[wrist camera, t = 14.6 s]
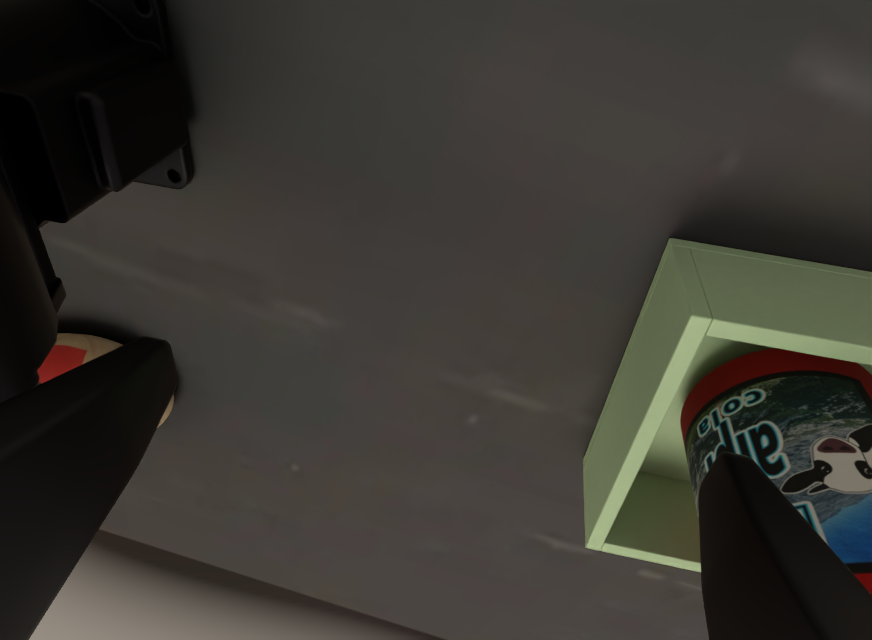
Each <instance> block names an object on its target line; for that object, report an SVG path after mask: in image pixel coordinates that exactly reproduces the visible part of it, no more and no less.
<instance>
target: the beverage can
mask: <svg viewBox="0 0 872 640" xmlns="http://www.w3.org/2000/svg"><path fill="white" fill-rule="evenodd" d="M680 425H681V431H682V437H683V442H684V447H685V453H686V458H687V463H688V469H689V474H690V479H691V484H692V489H693V494H694V499H695V504H696V509H697V514H698V519H699V509H698V493H699V488H700V485H701V482H702V481H703V479H704V477H705V476H706V474H707V472H708V471H709V469H710V467H711V466H712V464H713V462H714V461H715V459H716V457H717V456H718V455H719V454H720V453H722V452H730V453H735V454H740V455H745V456H748V457H750V458H752V459H753V460H754V461H755V462H756V463H757V465H758V466H759V467H760V468H761V469H762V470H763V471H764V473H765V474H766V475H767V476H768V477H769V478H770V479H771V481H772V482H773V483H774V484H775V485H776V486H777V487H778V489H779V490H780V491H781V492H782V493H783V494H784V495H785V496H786V498H787V499H788V500H789V501H790V502H791V503H792V504H793V506H794V507H795V508H796V509H797V510H798V511H799V512H800V514H801V515H802V516H803V517H804V518H805V519H806V520H807V522H808V523H809V524H810V525H811V526H812V527H813V528H814V530H815V531H816V532H817V533H818V534H819V535H820V536H821V538H822V539H823V540H824V541H825V542H826V543H827V544H828V546H829V547H830V548H831V549H832V550H833V551H834V552H835V554H836V555H837V556H838V557H839V558H840V559H841V560H842V562H843V563H844V564H845V565H846V566H847V567H848V568H849V570H850V571H851V572H852V573H853V574H854V575H855V576H856V578H857V579H858V580H859V581H860V582H861V583H862V584H863V586H864V587H865V588H866V589H867V590H868V591H869V592H870V594H871V595H872V375H871V374H870V373H869V372H868V371H867V370H866V369H865V368H864V367H862V366H861V365H860V364H858V363H856V362H850V361H845V360H839V359H834V358H828V357H823V356H817V355H812V354H806V353H801V352H795V351H790V350H784V349H779V348H771V349H765V350H760V351H756V352H752V353H749V354H746V355H743V356H740V357H737V358H735V359H733V360H730V361H728V362H726V363H724V364H722V365H721V366H719V367H717V368H716V369H714V370H713V371H711V372H710V373H708V374H707V375H706V376H705V377H703V378H702V379H701V380H700V381H699V382H698V383H697V384H696V385H695V386H694V388H693V389H692V390H691V392H690V393H689V395H688V396H687V398H686V400H685V402H684V404H683V408H682V411H681V418H680Z"/></svg>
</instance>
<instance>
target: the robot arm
mask: <svg viewBox="0 0 872 640" xmlns="http://www.w3.org/2000/svg"><path fill="white" fill-rule="evenodd" d="M147 1H148V2H149V5H150V12H149V11H147V10H146V9H145V8H144V7H143V4H142V0H0V640H29V638H30V637H31V635H32V633H33V632H34V630H35V629H36V627H37V626H38V624H39V622H40V621H41V619H42V618H43V616H44V615H45V613H46V611H47V610H48V608H49V607H50V605H51V604H52V602H53V600H54V599H55V597H56V596H57V594H58V592H59V591H60V589H61V588H62V586H63V585H64V583H65V581H66V580H67V578H68V577H69V575H70V573H71V572H72V570H73V569H74V567H75V565H76V564H77V562H78V561H79V559H80V558H81V556H82V554H83V553H84V551H85V550H86V548H87V547H88V545H89V543H90V542H91V540H92V539H93V537H94V536H95V534H96V532H97V531H98V529H99V528H100V526H101V524H102V523H103V521H104V520H105V518H106V517H107V515H108V513H109V512H110V510H111V509H112V507H113V506H114V504H115V502H116V501H117V499H118V498H119V496H120V494H121V493H122V491H123V490H124V488H125V487H126V485H127V483H128V482H129V480H130V479H131V477H132V475H133V474H134V472H135V470H136V469H137V467H138V465H139V463H140V461H141V459H142V457H143V455H144V453H145V451H146V449H147V447H148V445H149V443H150V441H151V439H152V437H153V435H154V433H155V431H156V429H157V427H158V425H159V423H160V421H161V419H162V417H163V415H164V413H165V411H166V408H167V406H168V404H169V402H170V400H171V398H172V396H173V394H174V392H175V390H176V387H177V382H178V375H177V371H176V366H175V362H174V358H173V353H172V349H171V346H170V344H169V343H168V342H167V341H165V340H162V339H157V338H152V337H140V338H138V339H136V340H133V341H131V342H129V343H127V344H125V345H123V346H121V347H118V348H116V349H114V350H112V351H110V352H108V353H106V354H104V355H101V356H99V357H97V358H95V359H93V360H91V361H89V362H86V363H84V364H82V365H80V366H78V367H76V368H74V369H72V370H69V371H67V372H65V373H63V374H61V375H59V376H57V377H54V378H52V379H50V380H48V381H46V382H44V383H42V384H40V385H37V383H38V382H39V374H38V372H37V370H38V369H39V368H40V367H41V365H42V364H43V362H44V360H45V359H46V357H47V356H48V354H49V352H50V351H51V349H52V348H53V346H54V344H55V343H56V341H57V330H58V317H57V312H58V310H59V308H60V306H61V304H62V302H63V300H64V298H65V297H66V292H65V290H64V287H63V284H62V281H61V279H60V278H58V277H56V276H55V273H54V270H53V267H52V265H51V262H50V259H49V256H48V253H47V251H46V248H45V245H44V242H43V239H42V237H41V234H40V231H39V228H40V227H42V226H43V225H45V224H46V223H48V222H49V221H53V222H58V223H66V222H68V221H69V220H71V219H72V218H73V217H75V216H76V215H78V214H79V213H81V212H82V211H84V210H85V209H86V208H88V207H89V206H91V205H92V204H94V203H95V202H97V201H98V200H100V199H101V198H102V197H104V196H105V195H107V194H108V193H110V192H111V191H116V192H118V191H121V190H122V189H124V188H125V187H126V186H128V185H129V184H131V183H132V182H139V183H145V184H150V185H156V186H162V187H168V188H173V189H182V188H184V187H185V186H187V185H188V184H189V183H190V182H191V181H192V179H193V172H192V166H191V160H190V154H189V148H188V141H189V139H190V137H189V131H188V125H187V119H186V113H185V106H184V100H183V94H182V88H181V82H180V76H179V69H178V67H177V65H176V64H175V62H174V58H173V52H172V45H171V39H170V33H169V27H168V21H167V15H166V9H165V4H164V1H163V0H147ZM173 170H176V171H177V172H178V173H179V174H180V177H181V178H179V177H177V176H176V175H175V174H174V172H173ZM36 385H37V386H36ZM34 386H35V387H34ZM698 509H699V534H700V560H701V581H702V594H703V601H704V609H705V615H706V622H707V628H708V634H709V640H872V595H871V594H870V592H869V591H868V590H867V589H866V588H865V587H864V586H863V584H862V583H861V582H860V581H859V580H858V579H857V578H856V576H855V575H854V574H853V573H852V572H851V571H850V570H849V568H848V567H847V566H846V565H845V564H844V563H843V562H842V560H841V559H840V558H839V557H838V556H837V555H836V554H835V552H834V551H833V550H832V549H831V548H830V547H829V546H828V544H827V543H826V542H825V541H824V540H823V539H822V538H821V536H820V535H819V534H818V533H817V532H816V531H815V530H814V528H813V527H812V526H811V525H810V524H809V523H808V522H807V520H806V519H805V518H804V517H803V516H802V515H801V514H800V512H799V511H798V510H797V509H796V508H795V507H794V506H793V504H792V503H791V502H790V501H789V500H788V499H787V498H786V496H785V495H784V494H783V493H782V492H781V491H780V490H779V489H778V487H777V486H776V485H775V484H774V483H773V482H772V481H771V479H770V478H769V477H768V476H767V475H766V474H765V473H764V471H763V470H762V469H761V468H760V467H759V466H758V465H757V463H756V462H755V461H754V460H753V459H752V458H750V457H748V456H745V455H740V454H735V453H730V452H722V453H720V454H719V455H718V456H717V457H716V459H715V461H714V462H713V464H712V466H711V467H710V469H709V471H708V472H707V474H706V476H705V477H704V479H703V481H702V482H701V485H700V488H699V493H698Z"/></svg>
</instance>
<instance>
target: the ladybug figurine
mask: <svg viewBox="0 0 872 640" xmlns="http://www.w3.org/2000/svg"><path fill="white" fill-rule="evenodd" d="M121 346H123V345H122V344H120V343H117V342H114V341H111V340H108V339H105V338H101V337H97V336H92V335H85V334H73V333H57V341H56V343H55V344H54V346H53V348H52V349H51V351H50V352H49V354H48V356H47V357H46V359H45V360H44V362H43V364H42V365H41V367H40V368H39V369H38V370H37V372H38V374H39V382H38V383H37V385H40V384H42V383H44V382H46V381H48V380H50V379H52V378H54V377H57V376H59V375H61V374H63V373H65V372H67V371H69V370H72V369H74V368H76V367H78V366H80V365H82V364H84V363H86V362H89V361H91V360H93V359H95V358H97V357H99V356H101V355H104V354H106V353H108V352H110V351H112V350H114V349H116V348H118V347H121ZM37 385H36V386H37ZM34 387H35V386H34ZM173 403H174V394H173V396H172V398H171V400H170V402H169V404H168V406H167V408H166V411H165V413H164V415H163V417H162V419H161V421H160V423H159V425H158V427H159V426H160V425H161V424H162V423H163V422H164V421H165V420H166V419H167V417H168V416H169V414H170V412H171V410H172V408H173ZM158 427H157V428H158Z"/></svg>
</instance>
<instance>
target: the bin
mask: <svg viewBox="0 0 872 640" xmlns="http://www.w3.org/2000/svg"><path fill="white" fill-rule="evenodd" d="M771 348H779V349H784V350H790V351H795V352H801V353H806V354H812V355H817V356H823V357H828V358H834V359H839V360H845V361H850V362H856V363H858V364H860V365H861V366H862V367H864V368H865V369H866V370H867V371H868V372H869V373H870V374H871V375H872V272H869V271H863V270H857V269H851V268H845V267H839V266H833V265H827V264H821V263H816V262H810V261H804V260H798V259H792V258H786V257H780V256H774V255H768V254H763V253H757V252H751V251H745V250H739V249H733V248H727V247H721V246H715V245H710V244H704V243H698V242H692V241H686V240H680V239H674V238H669V240H668V243H667V245H666V248H665V250H664V253H663V255H662V258H661V261H660V263H659V266H658V268H657V271H656V273H655V276H654V279H653V281H652V284H651V286H650V289H649V292H648V294H647V297H646V299H645V302H644V304H643V307H642V310H641V312H640V315H639V317H638V320H637V322H636V325H635V328H634V330H633V333H632V335H631V338H630V340H629V343H628V346H627V348H626V351H625V353H624V356H623V358H622V361H621V364H620V366H619V369H618V371H617V374H616V376H615V379H614V382H613V384H612V387H611V389H610V392H609V394H608V397H607V400H606V402H605V405H604V407H603V410H602V413H601V415H600V418H599V420H598V423H597V425H596V428H595V431H594V433H593V436H592V438H591V441H590V443H589V446H588V449H587V451H586V454H585V456H584V459H583V478H584V514H585V546H586V548H590V549H594V550H600V549H601V551H604V552H608V553H613V554H618V555H622V556H627V557H632V558H636V559H641V560H646V561H650V562H655V563H660V564H664V565H669V566H674V567H678V568H683V569H688V570H692V571H697V572H701V560H700V534H699V519H698V514H697V509H696V504H695V499H694V494H693V489H692V484H691V479H690V474H689V469H688V463H687V458H686V453H685V447H684V442H683V437H682V431H681V425H680V418H681V411H682V408H683V404H684V402H685V400H686V398H687V396H688V395H689V393H690V392H691V390H692V389H693V388H694V386H695V385H696V384H697V383H698V382H699V381H700V380H701V379H702V378H703V377H705V376H706V375H707V374H708V373H710V372H711V371H713V370H714V369H716V368H717V367H719V366H721V365H722V364H724V363H726V362H728V361H730V360H733V359H735V358H737V357H740V356H743V355H746V354H749V353H752V352H756V351H760V350H765V349H771Z"/></svg>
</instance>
